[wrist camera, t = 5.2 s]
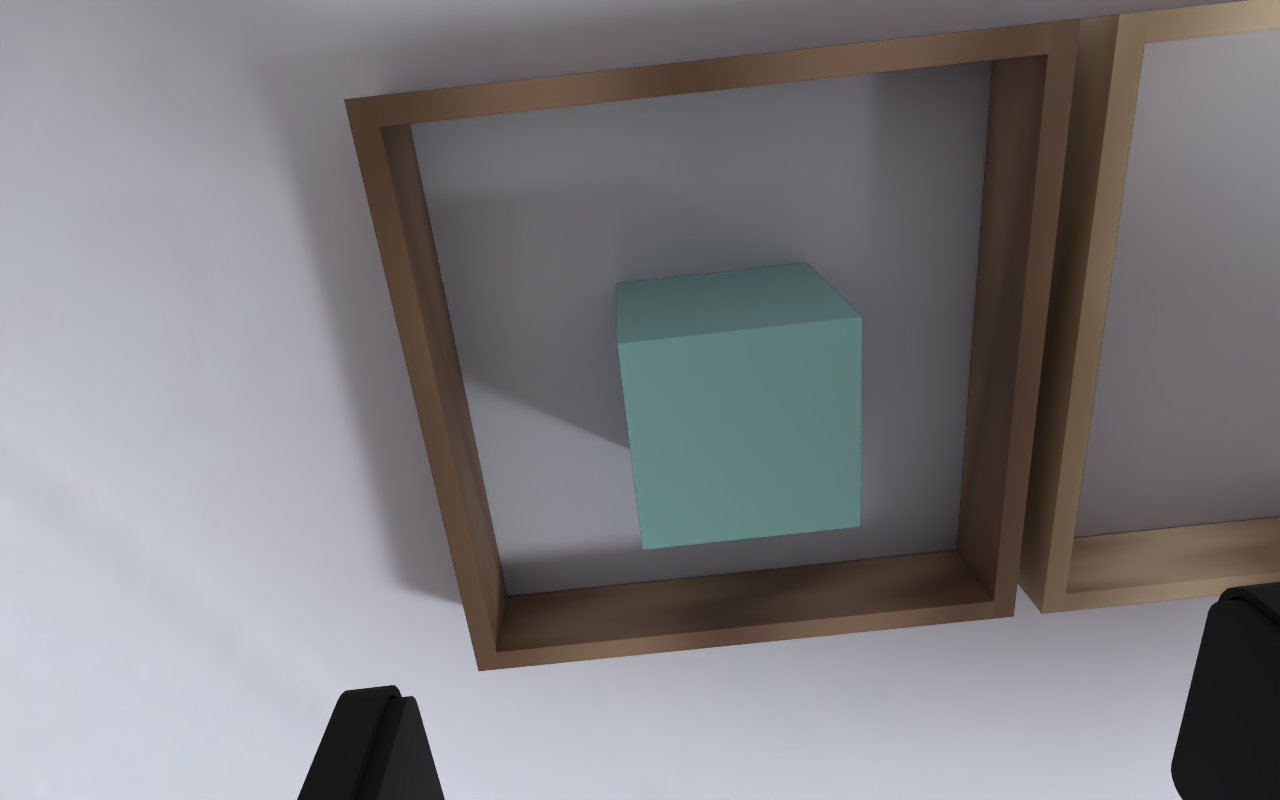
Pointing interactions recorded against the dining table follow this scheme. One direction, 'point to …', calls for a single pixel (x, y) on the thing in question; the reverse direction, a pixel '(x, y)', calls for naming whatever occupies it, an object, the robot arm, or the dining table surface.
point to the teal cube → (741, 404)
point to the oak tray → (1075, 322)
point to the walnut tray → (787, 597)
